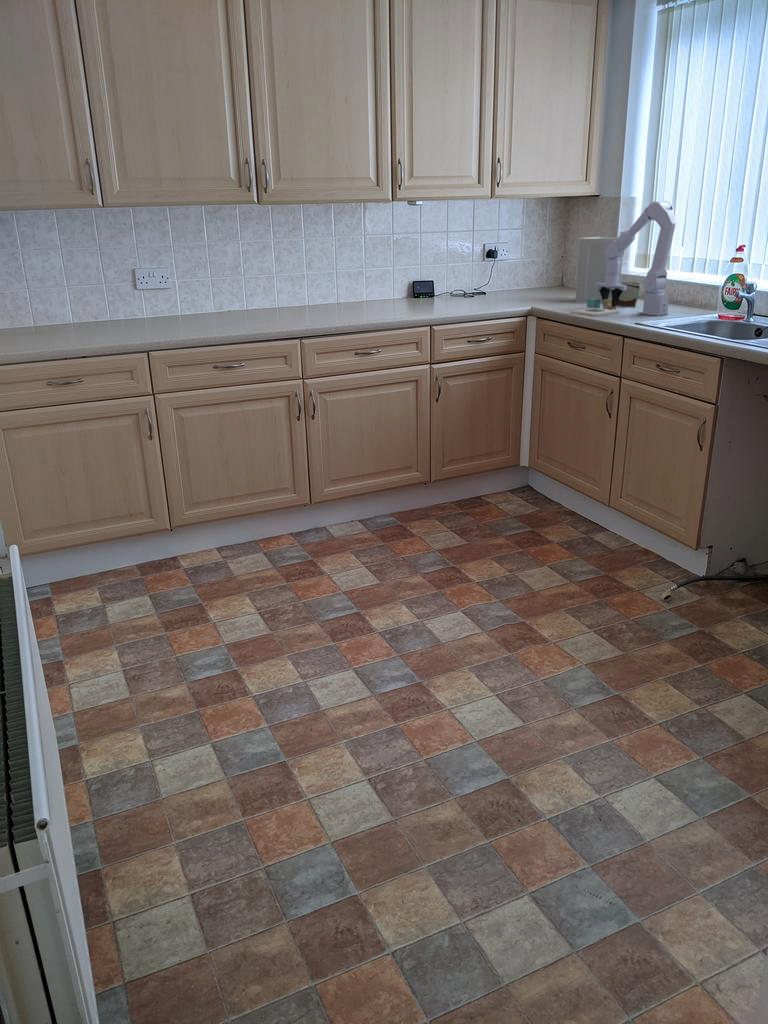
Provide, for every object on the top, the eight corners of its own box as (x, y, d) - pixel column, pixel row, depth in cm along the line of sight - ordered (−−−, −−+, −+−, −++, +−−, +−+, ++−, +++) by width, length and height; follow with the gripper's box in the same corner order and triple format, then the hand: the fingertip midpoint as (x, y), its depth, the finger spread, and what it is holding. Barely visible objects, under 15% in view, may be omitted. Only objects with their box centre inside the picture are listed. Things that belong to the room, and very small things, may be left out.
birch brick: (615, 309, 362) (616, 300, 361) (610, 310, 360) (611, 300, 358) (608, 308, 365) (609, 299, 364) (602, 309, 363) (603, 299, 361)
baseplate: (618, 313, 351) (618, 310, 351) (597, 316, 343) (597, 313, 342) (591, 309, 361) (591, 307, 361) (570, 313, 353) (570, 310, 353)
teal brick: (599, 308, 366) (600, 299, 365) (594, 309, 364) (594, 299, 362) (592, 307, 369) (593, 298, 368) (586, 308, 367) (587, 299, 365)
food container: (643, 306, 372) (646, 282, 368) (637, 307, 367) (640, 284, 364) (617, 303, 379) (619, 281, 375) (611, 305, 375) (613, 282, 371)
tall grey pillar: (615, 299, 394) (621, 236, 383) (618, 303, 380) (624, 238, 370) (574, 298, 396) (578, 236, 386) (575, 302, 383) (580, 238, 373)
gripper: (632, 274, 354) (629, 306, 359) (604, 271, 365) (601, 303, 370) (622, 275, 350) (619, 308, 355) (594, 272, 360) (591, 304, 365)
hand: (609, 306), depth 362 cm, fingers closed on birch brick, 4 cm apart
